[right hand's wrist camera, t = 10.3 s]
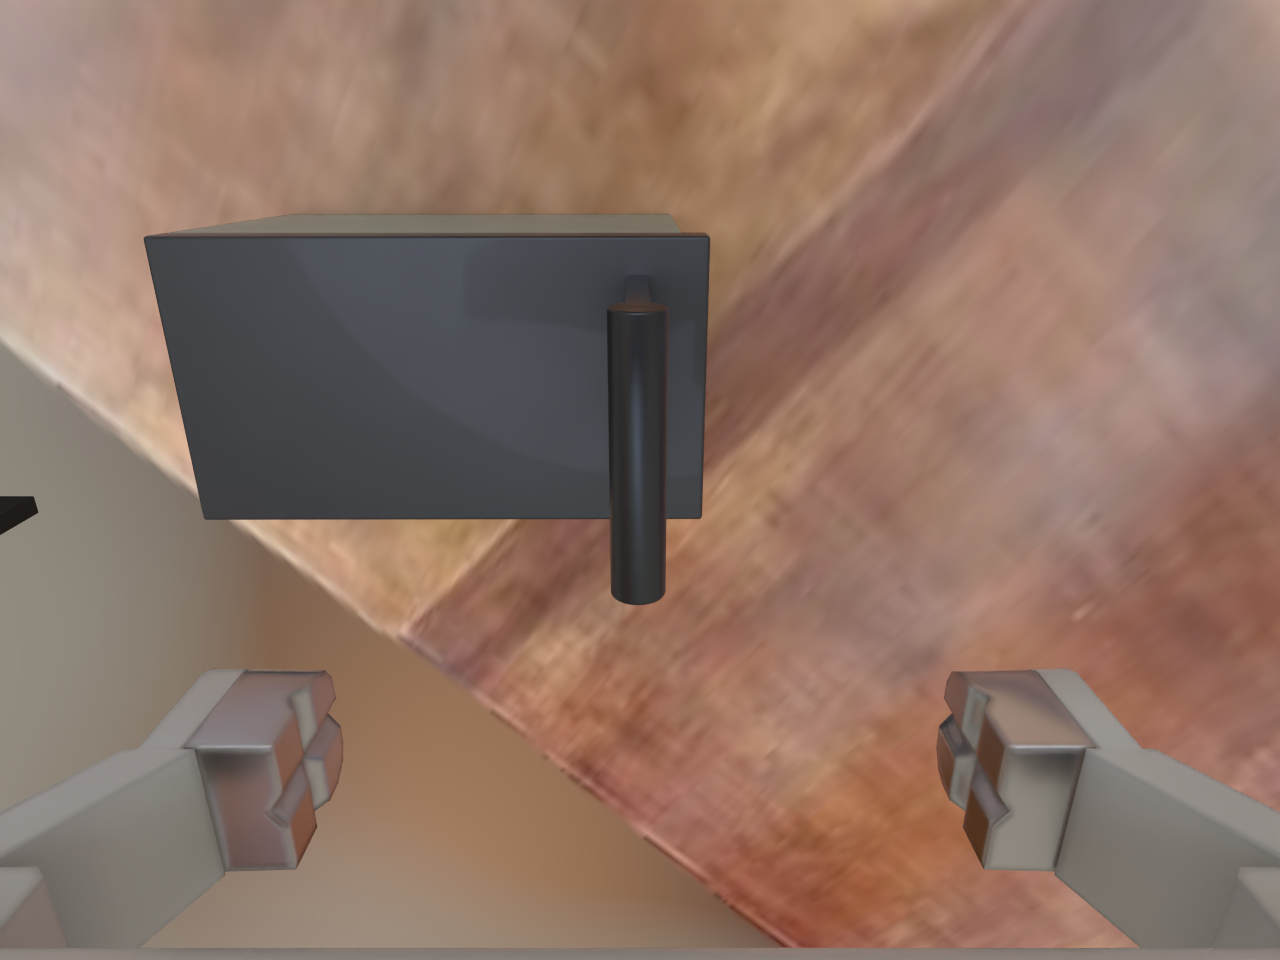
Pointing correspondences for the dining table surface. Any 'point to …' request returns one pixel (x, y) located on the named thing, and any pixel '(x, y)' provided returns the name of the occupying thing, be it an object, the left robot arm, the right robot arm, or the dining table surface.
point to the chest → (453, 224)
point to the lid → (445, 378)
